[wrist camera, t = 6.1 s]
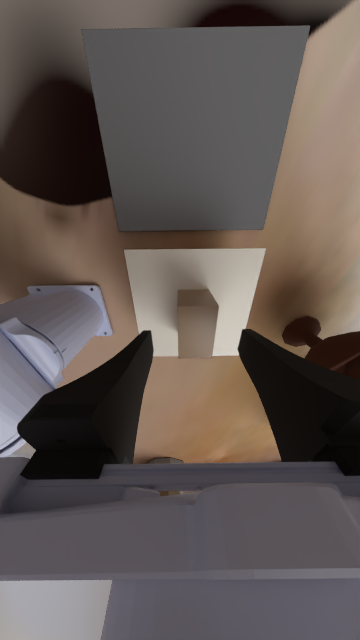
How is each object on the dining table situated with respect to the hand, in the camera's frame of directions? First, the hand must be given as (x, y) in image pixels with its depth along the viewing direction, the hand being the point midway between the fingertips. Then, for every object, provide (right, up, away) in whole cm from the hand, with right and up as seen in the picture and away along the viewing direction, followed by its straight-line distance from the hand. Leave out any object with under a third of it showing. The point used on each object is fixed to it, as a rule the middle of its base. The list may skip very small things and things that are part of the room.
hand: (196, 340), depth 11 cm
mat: (0, +17, +2) cm, 17 cm away
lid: (0, +3, +4) cm, 5 cm away
